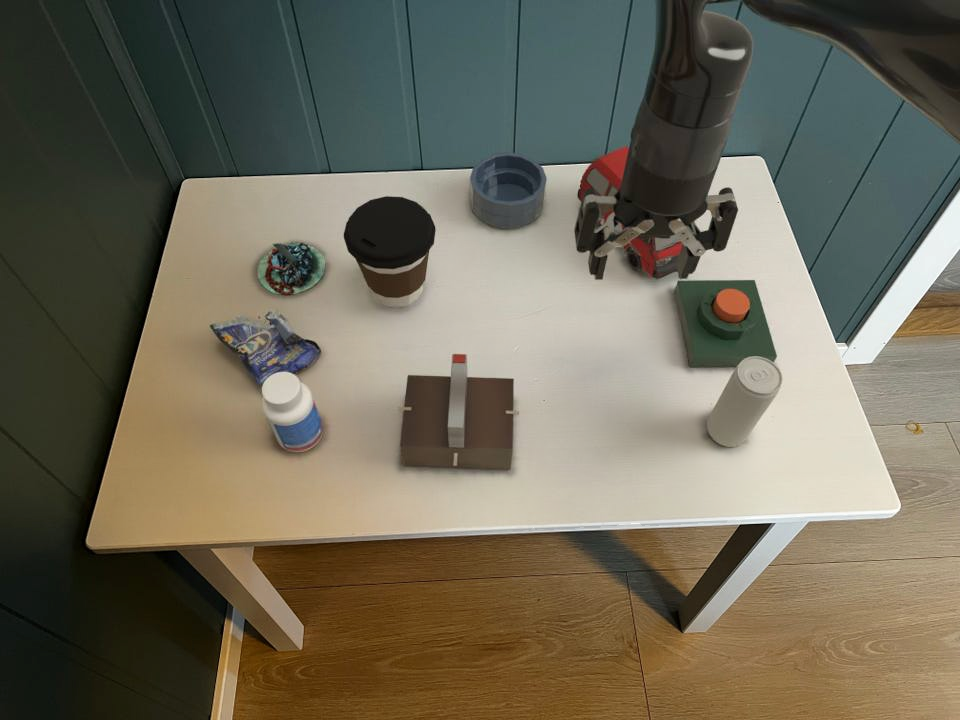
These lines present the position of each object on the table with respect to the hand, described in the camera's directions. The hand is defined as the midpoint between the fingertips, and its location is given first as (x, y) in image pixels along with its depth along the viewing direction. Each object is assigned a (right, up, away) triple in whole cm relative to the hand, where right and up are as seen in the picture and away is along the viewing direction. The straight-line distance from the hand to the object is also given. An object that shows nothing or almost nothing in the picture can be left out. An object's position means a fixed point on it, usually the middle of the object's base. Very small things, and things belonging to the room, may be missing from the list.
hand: (639, 272), depth 74 cm
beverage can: (+12, -17, +10) cm, 24 cm away
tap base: (-19, -17, +10) cm, 27 cm away
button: (+14, -3, +16) cm, 21 cm away
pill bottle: (-37, -17, +10) cm, 42 cm away
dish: (-41, +3, +24) cm, 48 cm away
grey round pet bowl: (-12, +13, +31) cm, 36 cm away
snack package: (-42, -8, +16) cm, 46 cm away
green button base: (+14, -5, +19) cm, 24 cm away
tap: (-19, -14, +6) cm, 24 cm away
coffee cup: (-27, 0, +22) cm, 35 cm away
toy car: (+5, +8, +27) cm, 29 cm away
